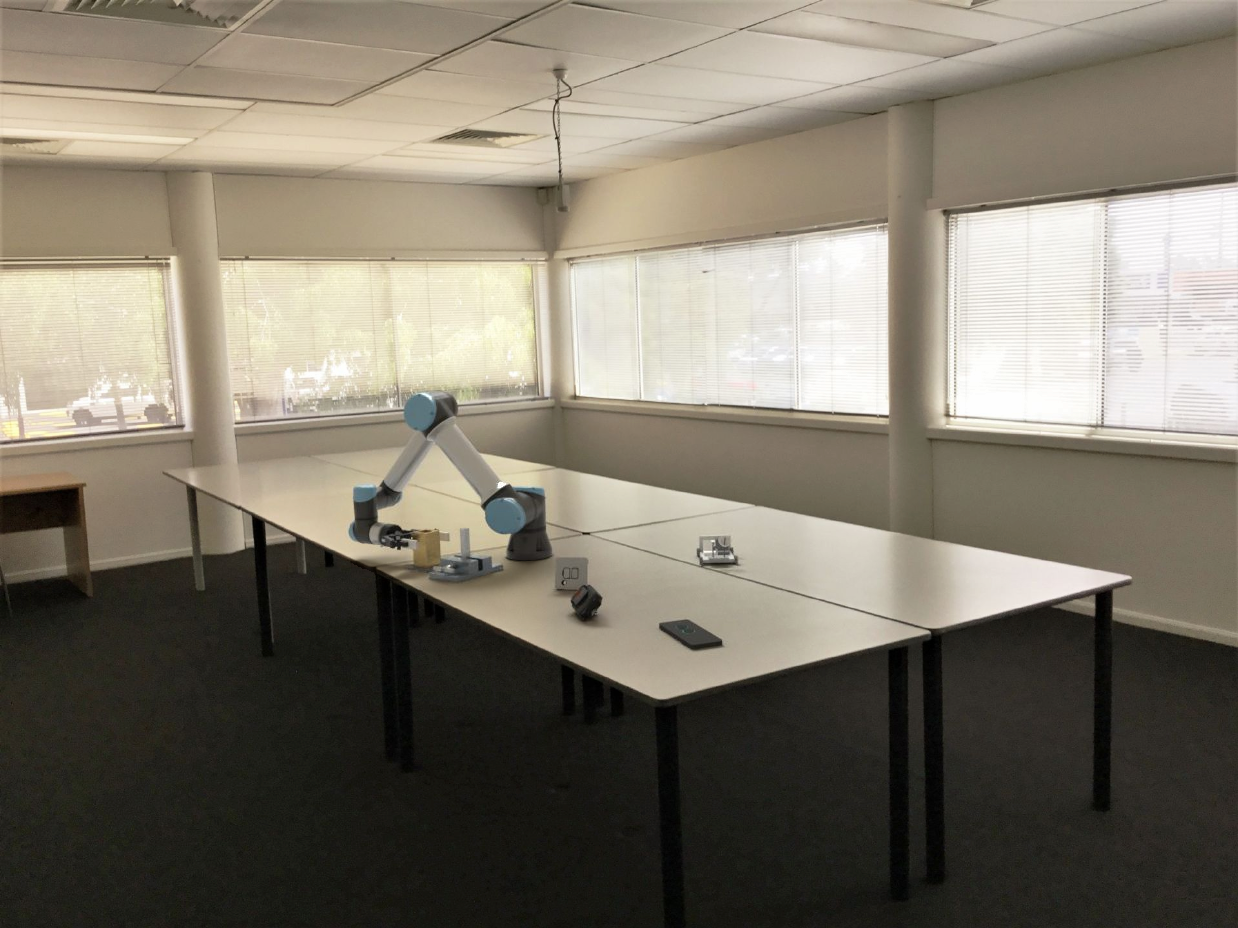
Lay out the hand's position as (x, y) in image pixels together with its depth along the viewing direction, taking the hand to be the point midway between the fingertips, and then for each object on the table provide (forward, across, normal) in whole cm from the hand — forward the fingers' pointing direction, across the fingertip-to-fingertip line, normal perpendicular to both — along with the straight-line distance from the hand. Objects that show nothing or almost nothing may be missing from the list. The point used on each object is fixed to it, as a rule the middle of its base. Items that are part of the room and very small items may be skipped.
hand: (433, 541), depth 325 cm
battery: (+75, +19, -9) cm, 78 cm away
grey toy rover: (+72, -51, -10) cm, 89 cm away
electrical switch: (+54, -2, -9) cm, 54 cm away
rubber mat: (-3, 0, -9) cm, 9 cm away
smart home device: (+107, +21, -10) cm, 110 cm away
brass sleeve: (-3, 0, -8) cm, 9 cm away
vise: (+14, 0, -9) cm, 16 cm away
